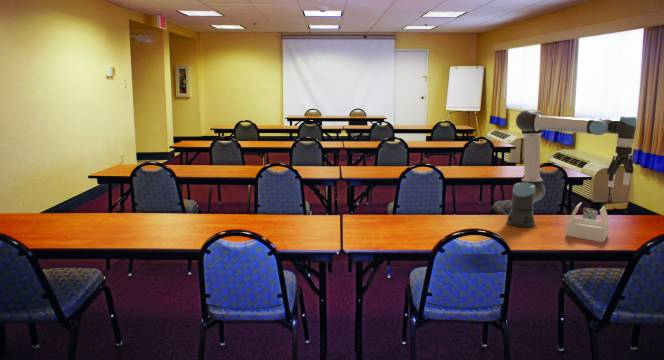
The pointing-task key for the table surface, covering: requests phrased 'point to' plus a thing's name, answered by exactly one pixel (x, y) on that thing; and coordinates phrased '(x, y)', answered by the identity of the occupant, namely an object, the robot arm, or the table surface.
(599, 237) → the carton
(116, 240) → the table surface
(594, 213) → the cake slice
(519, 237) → the table surface
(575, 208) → the flap
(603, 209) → the flap
